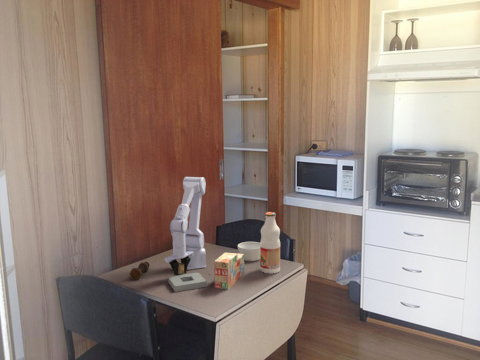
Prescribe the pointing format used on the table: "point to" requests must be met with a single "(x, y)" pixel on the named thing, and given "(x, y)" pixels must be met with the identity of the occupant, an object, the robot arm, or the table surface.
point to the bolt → (139, 270)
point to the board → (187, 281)
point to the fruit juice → (270, 245)
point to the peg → (181, 269)
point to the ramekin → (250, 250)
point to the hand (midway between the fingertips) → (179, 274)
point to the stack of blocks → (228, 269)
